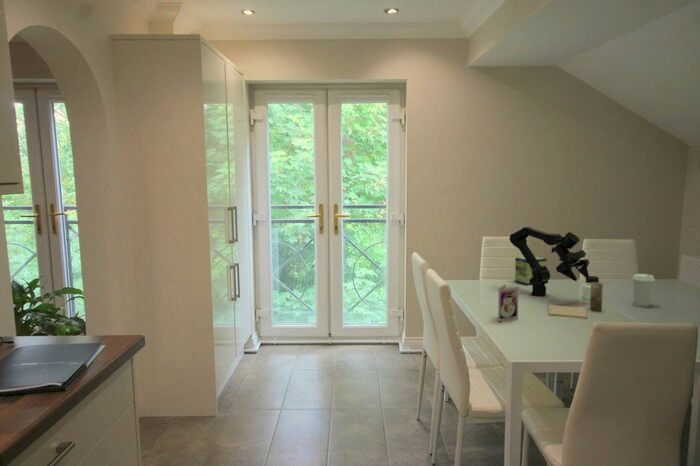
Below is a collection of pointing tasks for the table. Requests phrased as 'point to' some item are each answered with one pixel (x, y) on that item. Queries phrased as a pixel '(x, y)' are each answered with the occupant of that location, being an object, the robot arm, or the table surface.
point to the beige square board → (567, 311)
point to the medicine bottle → (589, 286)
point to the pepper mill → (596, 296)
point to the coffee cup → (643, 289)
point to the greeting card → (508, 303)
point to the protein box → (526, 269)
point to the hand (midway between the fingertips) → (582, 279)
